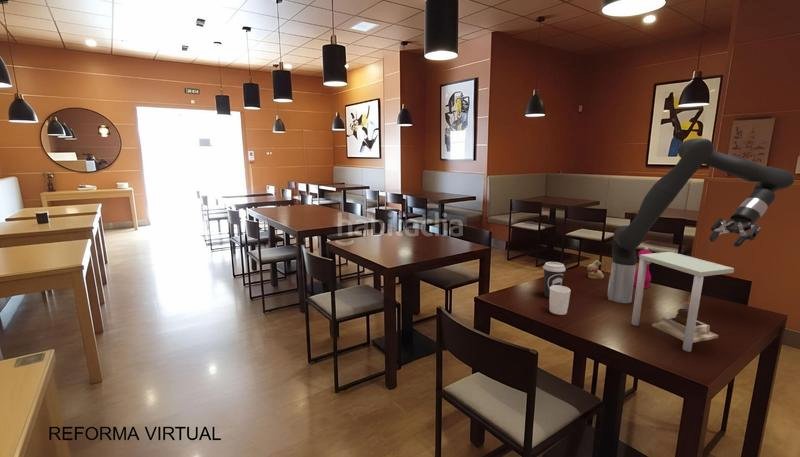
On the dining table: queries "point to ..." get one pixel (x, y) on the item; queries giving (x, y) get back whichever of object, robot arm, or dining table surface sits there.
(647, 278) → the pepper mill
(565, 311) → the white cup
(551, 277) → the coffee cup
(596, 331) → the dining table surface
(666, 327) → the socket block
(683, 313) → the utensil holder
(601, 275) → the chocolate bunny
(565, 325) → the dining table surface
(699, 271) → the white bench
